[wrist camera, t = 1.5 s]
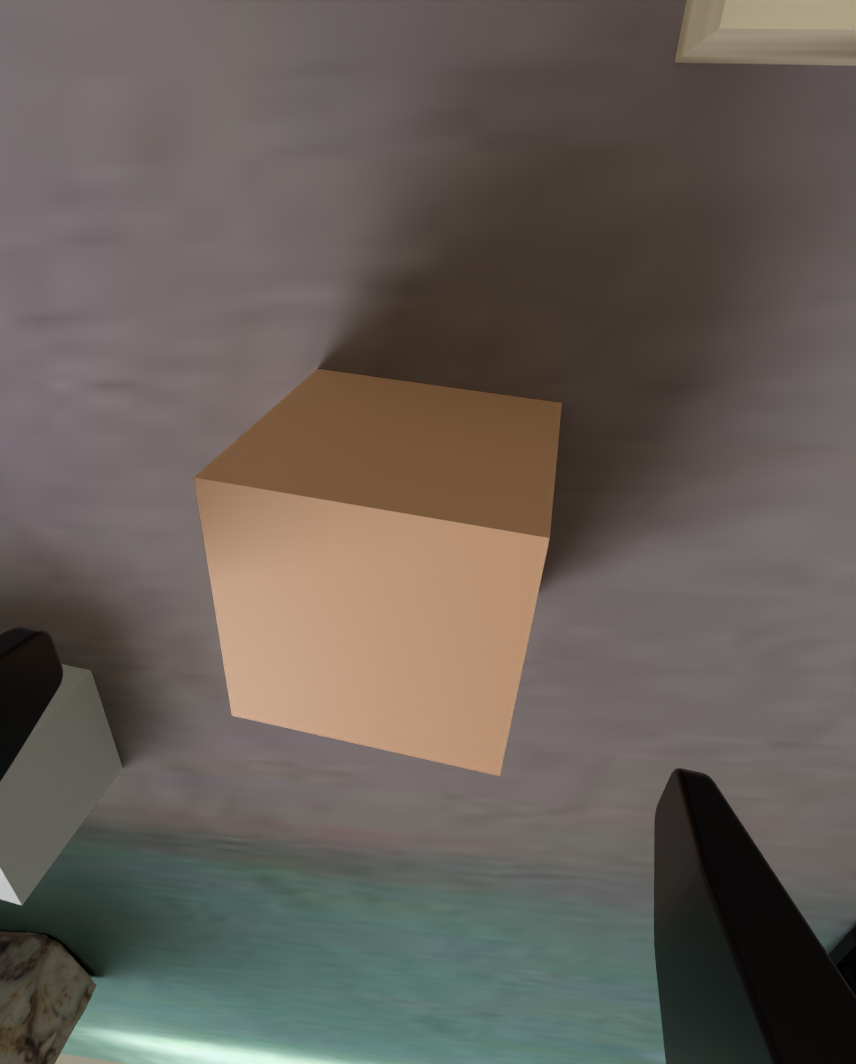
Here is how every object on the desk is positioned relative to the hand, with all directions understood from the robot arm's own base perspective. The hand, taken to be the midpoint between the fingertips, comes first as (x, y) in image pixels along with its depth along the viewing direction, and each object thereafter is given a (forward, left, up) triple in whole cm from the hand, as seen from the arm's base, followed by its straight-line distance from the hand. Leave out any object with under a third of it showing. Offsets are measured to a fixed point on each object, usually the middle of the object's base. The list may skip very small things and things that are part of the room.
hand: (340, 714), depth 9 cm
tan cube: (0, 0, -6) cm, 6 cm away
